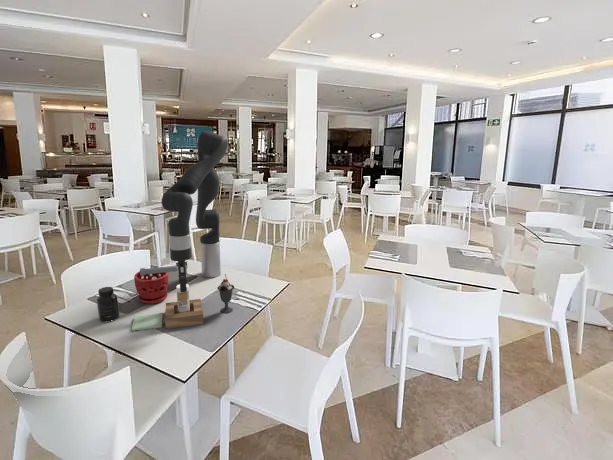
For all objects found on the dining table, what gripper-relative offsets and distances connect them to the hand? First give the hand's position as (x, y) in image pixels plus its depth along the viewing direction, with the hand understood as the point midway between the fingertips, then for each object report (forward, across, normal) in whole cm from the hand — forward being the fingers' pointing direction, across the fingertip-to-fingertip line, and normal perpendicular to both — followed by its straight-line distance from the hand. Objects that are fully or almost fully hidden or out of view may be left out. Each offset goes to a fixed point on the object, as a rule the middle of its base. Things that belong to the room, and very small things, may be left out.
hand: (183, 287), depth 135 cm
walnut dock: (+13, +3, 0) cm, 13 cm away
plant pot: (+13, +20, +12) cm, 27 cm away
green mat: (+13, 0, +13) cm, 18 cm away
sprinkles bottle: (+13, 0, 0) cm, 13 cm away
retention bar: (-3, +10, +7) cm, 13 cm away
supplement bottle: (+13, +8, +27) cm, 31 cm away
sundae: (+13, +2, -16) cm, 21 cm away
